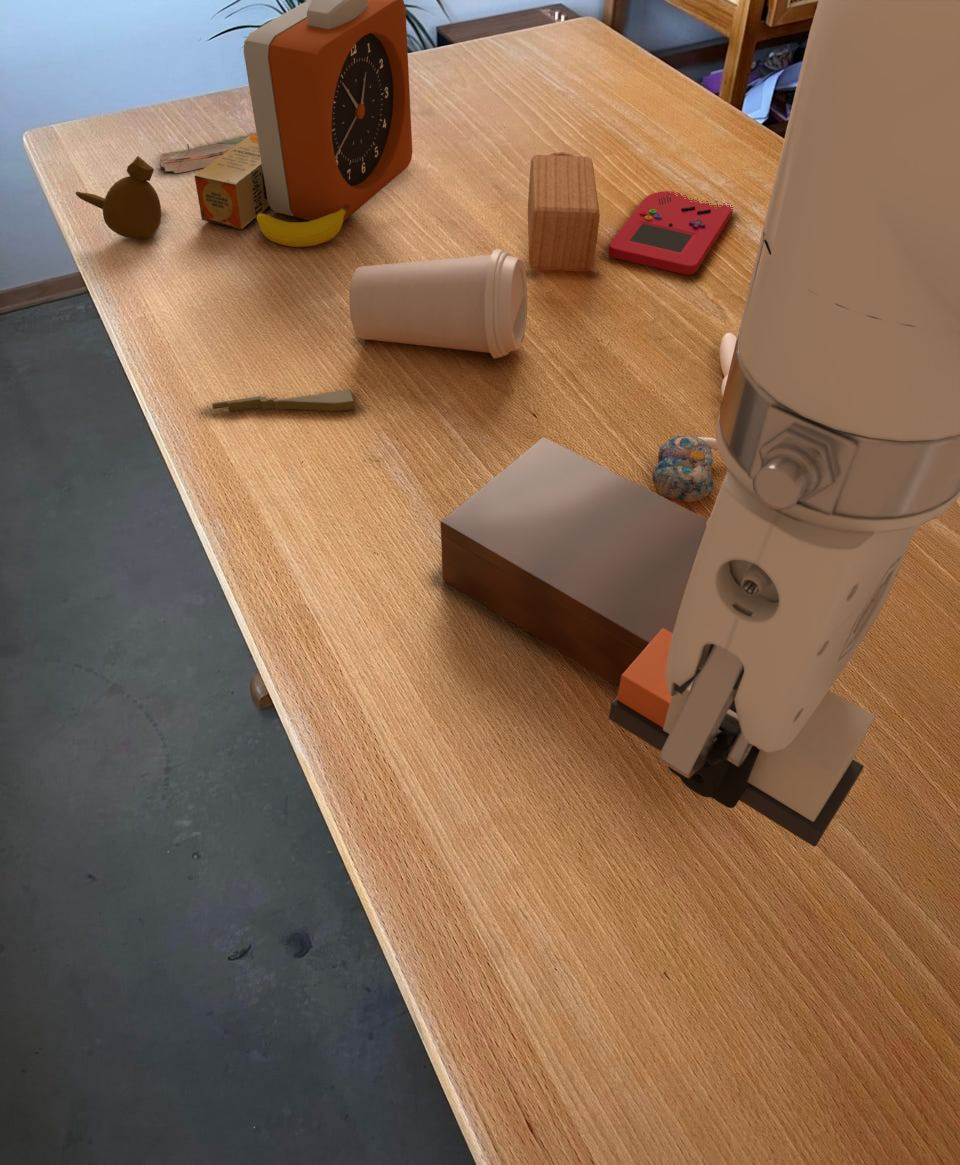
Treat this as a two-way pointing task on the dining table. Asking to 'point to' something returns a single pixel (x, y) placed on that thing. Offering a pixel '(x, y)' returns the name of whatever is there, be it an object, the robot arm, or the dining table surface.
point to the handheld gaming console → (670, 232)
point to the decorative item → (562, 212)
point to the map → (196, 156)
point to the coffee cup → (443, 303)
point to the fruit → (302, 229)
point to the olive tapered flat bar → (295, 402)
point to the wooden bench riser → (574, 556)
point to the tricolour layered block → (778, 779)
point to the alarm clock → (330, 103)
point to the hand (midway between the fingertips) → (731, 744)
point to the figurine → (130, 203)
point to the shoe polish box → (233, 186)
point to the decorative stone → (684, 469)
